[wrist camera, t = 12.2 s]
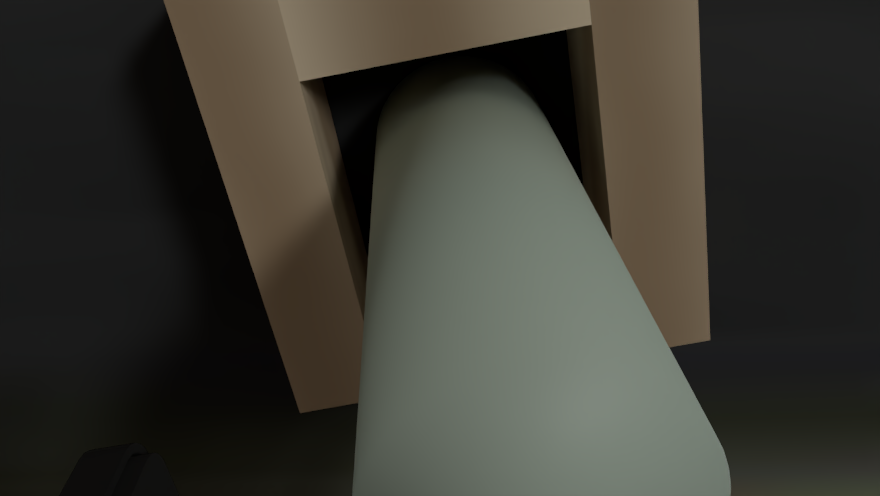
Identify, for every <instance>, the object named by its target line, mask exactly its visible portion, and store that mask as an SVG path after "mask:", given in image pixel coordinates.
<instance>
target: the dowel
mask: <svg viewBox="0 0 880 496" xmlns="http://www.w3.org/2000/svg"><path fill="white" fill-rule="evenodd" d="M730 495H731V482H730V473H729V466H728V463H727V460H726V456H725V453H724V450H723V448H722V446H721V444H720V442H719V440H718V438H717V436H716V434H715V432H714V430H713V428H712V427H711V425H710V423H709V421H708V419H707V417H706V415H705V414H704V412H703V410H702V408H701V406H700V404H699V402H698V400H697V399H696V397H695V395H694V393H693V391H692V389H691V387H690V386H689V384H688V382H687V380H686V378H685V376H684V374H683V372H682V371H681V369H680V367H679V365H678V363H677V361H676V359H675V358H674V356H673V354H672V352H671V350H670V348H669V346H668V344H667V343H666V341H665V339H664V337H663V335H662V333H661V331H660V329H659V328H658V326H657V324H656V322H655V320H654V318H653V316H652V315H651V313H650V311H649V309H648V307H647V305H646V303H645V301H644V300H643V298H642V296H641V294H640V292H639V290H638V288H637V287H636V285H635V283H634V281H633V279H632V277H631V275H630V273H629V272H628V270H627V268H626V266H625V264H624V262H623V260H622V259H621V257H620V255H619V253H618V251H617V249H616V247H615V245H614V244H613V242H612V240H611V238H610V236H609V234H608V232H607V231H606V229H605V227H604V225H603V223H602V221H601V219H600V217H599V216H598V214H597V212H596V210H595V208H594V206H593V204H592V203H591V201H590V199H589V197H588V195H587V193H586V191H585V189H584V188H583V186H582V184H581V182H580V180H579V178H578V176H577V174H576V173H575V171H574V169H573V167H572V165H571V163H570V161H569V160H568V158H567V156H566V154H565V152H564V150H563V148H562V146H561V145H560V143H559V141H558V139H557V137H556V135H555V133H554V132H553V130H552V128H551V126H550V124H549V122H548V120H547V118H546V117H545V115H544V113H543V111H542V109H541V107H540V105H539V104H538V102H537V100H536V98H535V96H534V94H533V93H532V91H531V90H530V89H529V87H528V86H527V85H526V84H525V83H524V81H523V80H522V79H521V78H520V77H518V76H517V75H516V74H515V73H513V72H512V71H511V70H509V69H508V68H506V67H504V66H502V65H500V64H498V63H496V62H493V61H491V60H487V59H484V58H480V57H472V56H453V57H446V58H442V59H438V60H435V61H432V62H430V63H427V64H425V65H423V66H421V67H419V68H417V69H416V70H414V71H413V72H411V73H410V74H409V75H407V76H406V77H405V78H404V79H403V80H402V81H401V82H400V83H399V84H398V85H397V86H396V87H395V88H394V90H393V91H392V92H391V94H390V95H389V97H388V99H387V100H386V102H385V104H384V106H383V109H382V111H381V113H380V117H379V121H378V125H377V134H376V148H375V163H374V177H373V192H372V207H371V222H370V237H369V252H368V267H367V282H366V296H365V311H364V326H363V341H362V356H361V371H360V386H359V401H358V416H357V430H356V445H355V460H354V475H353V490H352V496H730Z"/></svg>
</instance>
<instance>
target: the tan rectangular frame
mask: <svg viewBox="0 0 880 496" xmlns="http://www.w3.org/2000/svg"><path fill="white" fill-rule="evenodd" d="M164 3H165V6H166V9H167V12H168V15H169V18H170V21H171V24H172V27H173V30H174V33H175V36H176V39H177V42H178V45H179V48H180V51H181V54H182V57H183V60H184V63H185V66H186V70H187V73H188V76H189V79H190V82H191V85H192V88H193V91H194V94H195V97H196V100H197V103H198V106H199V109H200V112H201V115H202V118H203V121H204V124H205V127H206V130H207V133H208V136H209V139H210V142H211V145H212V148H213V151H214V154H215V157H216V160H217V163H218V166H219V169H220V172H221V175H222V178H223V182H224V185H225V188H226V191H227V194H228V197H229V200H230V203H231V206H232V209H233V212H234V215H235V218H236V221H237V224H238V227H239V230H240V233H241V236H242V239H243V242H244V245H245V248H246V251H247V254H248V257H249V260H250V263H251V266H252V269H253V272H254V275H255V278H256V281H257V284H258V287H259V290H260V294H261V297H262V300H263V303H264V306H265V309H266V312H267V315H268V318H269V321H270V324H271V327H272V330H273V333H274V336H275V339H276V342H277V345H278V348H279V351H280V354H281V357H282V360H283V363H284V366H285V369H286V372H287V375H288V378H289V381H290V384H291V387H292V390H293V393H294V396H295V399H296V402H297V406H298V409H299V412H300V413H304V412H309V411H315V410H321V409H326V408H332V407H337V406H343V405H349V404H354V403H358V401H359V386H360V371H361V356H362V341H363V326H364V311H365V296H366V282H367V267H368V257H367V253H366V249H365V245H364V241H363V237H362V233H361V229H360V225H359V221H358V217H357V213H356V210H355V206H354V202H353V198H352V194H351V190H350V186H349V182H348V178H347V174H346V170H345V166H344V162H343V158H342V154H341V150H340V147H339V143H338V139H337V135H336V131H335V127H334V123H333V119H332V115H331V111H330V107H329V103H328V99H327V95H326V91H325V87H324V84H323V80H322V77H326V76H331V75H336V74H341V73H346V72H352V71H357V70H362V69H367V68H372V67H377V66H382V65H387V64H393V63H398V62H403V61H408V60H413V59H418V58H423V57H428V56H434V55H439V54H444V53H449V52H454V51H459V50H464V49H470V48H475V47H480V46H485V45H490V44H495V43H500V42H505V41H511V40H516V39H521V38H526V37H531V36H536V35H541V34H546V33H552V32H557V31H562V30H566V34H567V43H568V52H569V61H570V70H571V79H572V88H573V97H574V106H575V115H576V124H577V133H578V142H579V151H580V160H581V169H582V178H583V187H584V189H585V191H586V193H587V195H588V197H589V199H590V201H591V203H592V204H593V206H594V208H595V210H596V212H597V214H598V216H599V217H600V219H601V221H602V223H603V225H604V227H605V229H606V231H607V232H608V234H609V236H610V238H611V240H612V242H613V244H614V245H615V247H616V249H617V251H618V253H619V255H620V257H621V259H622V260H623V262H624V264H625V266H626V268H627V270H628V272H629V273H630V275H631V277H632V279H633V281H634V283H635V285H636V287H637V288H638V290H639V292H640V294H641V296H642V298H643V300H644V301H645V303H646V305H647V307H648V309H649V311H650V313H651V315H652V316H653V318H654V320H655V322H656V324H657V326H658V328H659V329H660V331H661V333H662V335H663V337H664V339H665V341H666V343H667V344H668V346H669V347H674V346H679V345H685V344H691V343H696V342H702V341H708V340H710V320H709V293H708V265H707V237H706V210H705V182H704V155H703V127H702V99H701V72H700V44H699V16H698V0H164Z"/></svg>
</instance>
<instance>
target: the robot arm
mask: <svg viewBox="0 0 880 496" xmlns="http://www.w3.org/2000/svg"><path fill="white" fill-rule="evenodd" d="M59 496H179V494H178V491H177V489H176V487H175V485H174V482H173V480H172V478H171V475H170V473H169V471H168V469H167V466H166V464H165V462H164V460H163V458H162V457H161V456H160V455H159V454H158V453H150V454H149V453H148V452H147V450H146V448H145V447H144V446H142V445H141V444H139V443H131V444H125V445H118V446H112V447H106V448H100V449H94V450H89V451H87V452H85V453H84V454H83V455H82V457H81V458H80V459H79V461H78V463H77V464H76V466H75V468H74V470H73V472H72V474H71V475H70V477H69V479H68V481H67V483H66V484H65V486H64V488H63V490H62V492H61V493H60V495H59Z"/></svg>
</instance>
